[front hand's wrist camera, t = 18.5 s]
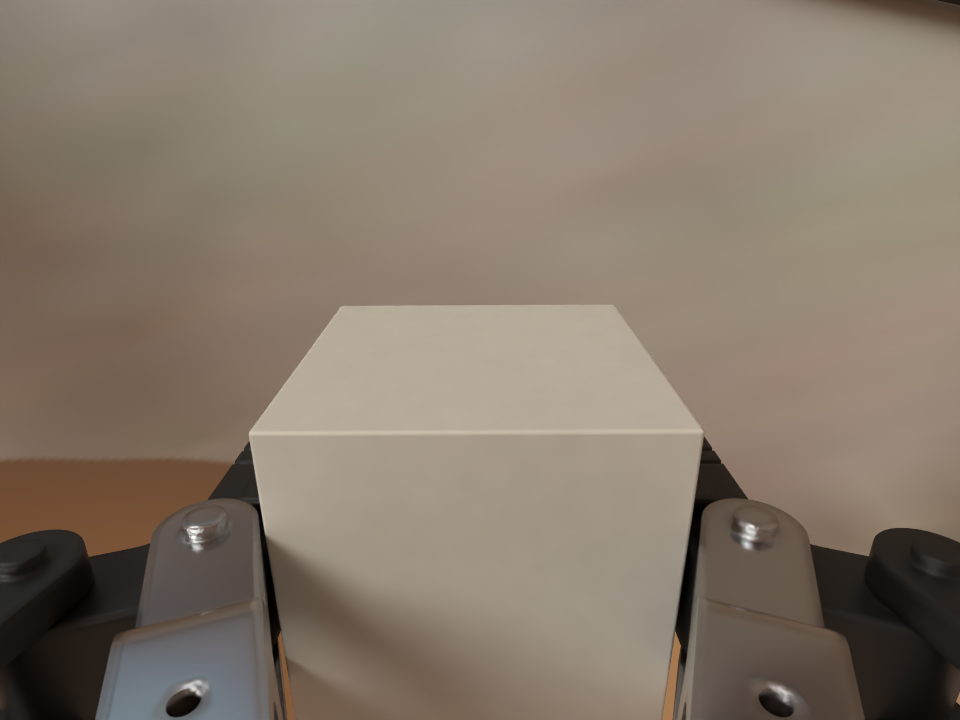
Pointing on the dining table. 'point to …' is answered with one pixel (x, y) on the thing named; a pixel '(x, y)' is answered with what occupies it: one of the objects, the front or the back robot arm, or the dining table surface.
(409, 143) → the dining table surface
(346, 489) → the block
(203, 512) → the front robot arm
